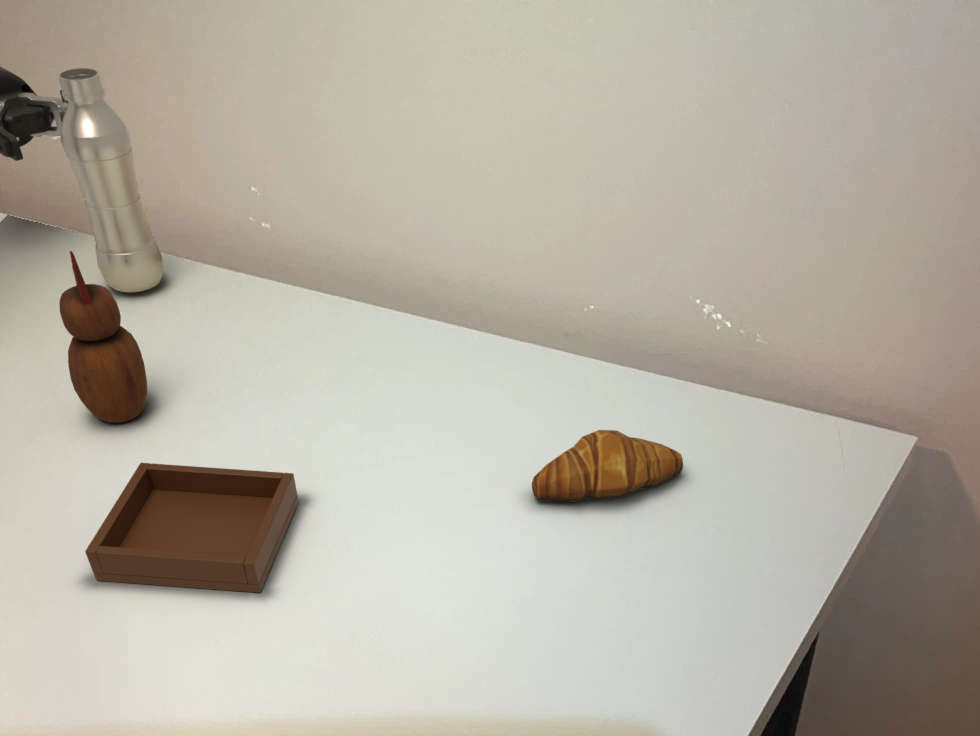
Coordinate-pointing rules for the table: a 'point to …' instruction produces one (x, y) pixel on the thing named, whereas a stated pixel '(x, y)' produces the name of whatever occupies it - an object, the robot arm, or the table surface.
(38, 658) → the table surface
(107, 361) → the wooden figurine
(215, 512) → the tray
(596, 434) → the croissant
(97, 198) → the silver bottle
